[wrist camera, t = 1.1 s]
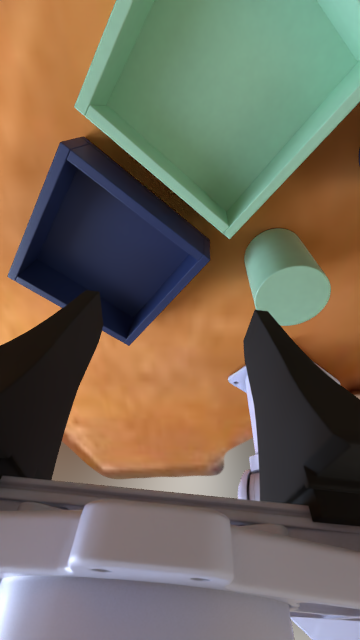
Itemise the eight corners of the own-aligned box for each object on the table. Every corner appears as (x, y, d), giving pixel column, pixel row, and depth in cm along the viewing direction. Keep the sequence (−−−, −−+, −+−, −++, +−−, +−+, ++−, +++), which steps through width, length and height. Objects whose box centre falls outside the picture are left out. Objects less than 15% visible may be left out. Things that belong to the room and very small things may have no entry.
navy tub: (209, 239, 20) (210, 260, 18) (136, 321, 26) (129, 346, 23) (83, 135, 17) (60, 141, 14) (30, 256, 23) (6, 276, 20)
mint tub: (370, 60, 14) (410, 48, 11) (226, 221, 20) (229, 239, 17) (219, -173, 10) (223, -274, 8) (96, 107, 16) (73, 107, 13)
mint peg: (314, 252, 20) (346, 295, 16) (269, 289, 23) (285, 336, 18) (276, 215, 19) (299, 250, 14) (232, 259, 21) (239, 301, 17)
